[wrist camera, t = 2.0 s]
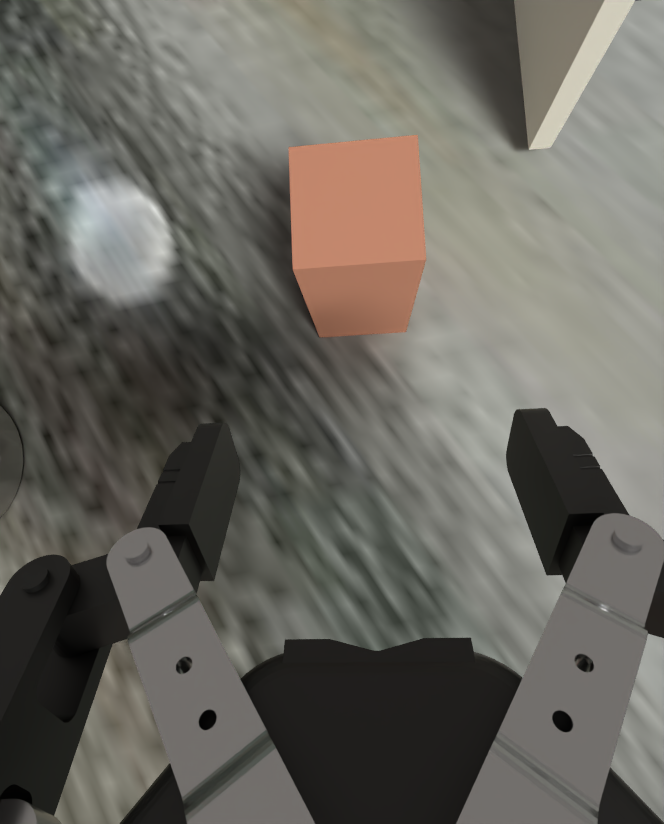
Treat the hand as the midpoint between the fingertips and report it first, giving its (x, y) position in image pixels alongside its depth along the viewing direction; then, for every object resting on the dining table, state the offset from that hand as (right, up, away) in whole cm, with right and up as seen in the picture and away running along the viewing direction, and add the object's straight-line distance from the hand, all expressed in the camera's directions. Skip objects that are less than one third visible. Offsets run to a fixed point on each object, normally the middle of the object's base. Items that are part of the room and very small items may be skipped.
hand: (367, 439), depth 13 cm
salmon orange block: (+1, +8, +14) cm, 16 cm away
